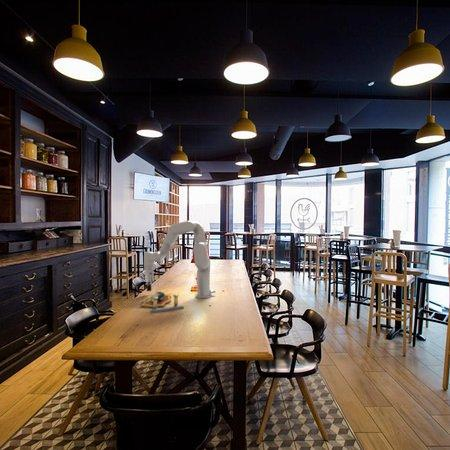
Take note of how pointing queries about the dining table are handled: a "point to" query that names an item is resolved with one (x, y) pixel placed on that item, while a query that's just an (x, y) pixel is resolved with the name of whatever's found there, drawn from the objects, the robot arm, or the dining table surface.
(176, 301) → the post
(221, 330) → the dining table surface
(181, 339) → the dining table surface
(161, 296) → the decorative plaque
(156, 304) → the post
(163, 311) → the wall strip
